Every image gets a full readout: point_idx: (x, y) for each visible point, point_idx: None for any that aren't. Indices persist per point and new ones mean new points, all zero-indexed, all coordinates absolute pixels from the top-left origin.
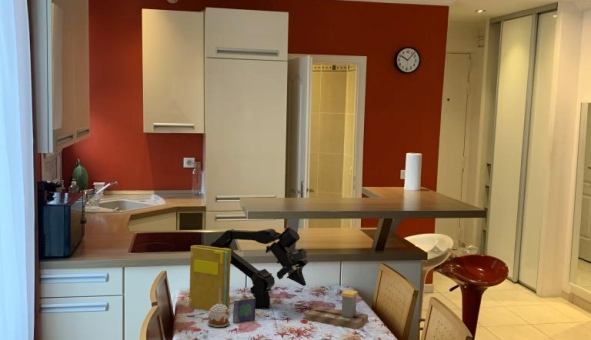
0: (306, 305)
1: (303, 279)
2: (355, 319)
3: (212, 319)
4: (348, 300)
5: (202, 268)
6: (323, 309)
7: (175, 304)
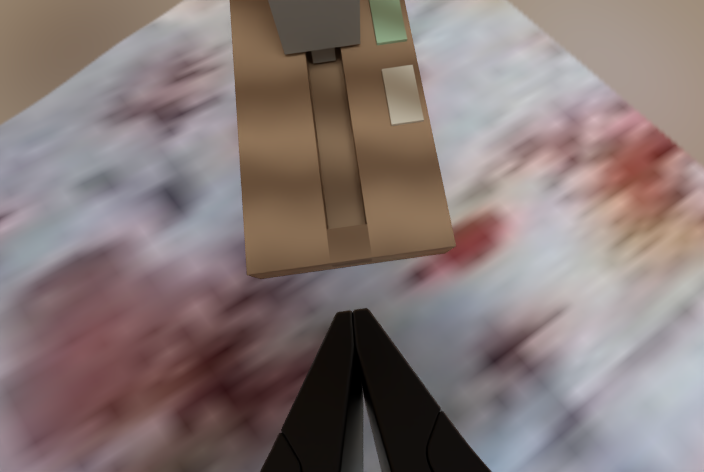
0: (165, 421)
1: (350, 374)
2: None
3: None
4: None
5: None
6: (293, 199)
7: None
